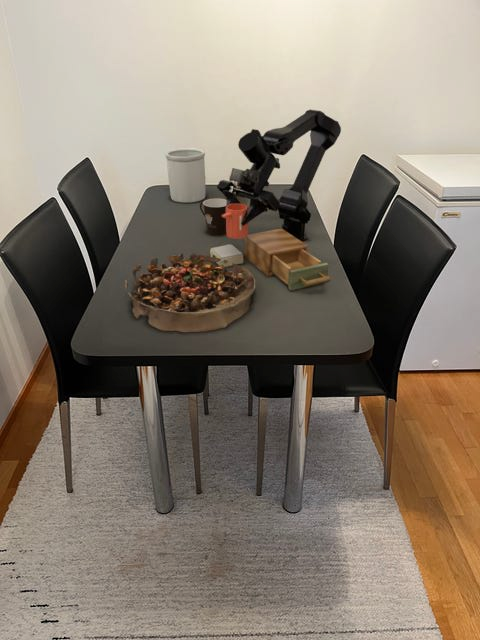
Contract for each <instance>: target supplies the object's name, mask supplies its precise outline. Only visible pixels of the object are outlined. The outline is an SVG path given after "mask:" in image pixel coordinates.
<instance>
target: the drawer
mask: <svg viewBox="0 0 480 640" xmlns="http://www.w3.org/2000/svg"><path fill="white" fill-rule="evenodd" d="M270 271H271V272H273V273H274V274H275V275H274V276H276V277H277V278H278V279H280V280H281V281H282V282H283V283H284V284H286V285H287V286H288V290H289V291H294V290H298V289H302V288H308V287H312V286H315V285H320V284H323V283H328V282H330V281H331V277H330V276H329V275H328V273H329V263H328V262H322V261H321V260H320V259H318V258H317V257H315V256H314V255H313V254H311V253H309V252H308V250H307V251H305V250H304V249H299V250H294V251H289V252H284V253H279V254H274V255H271V261H270Z"/></svg>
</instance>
